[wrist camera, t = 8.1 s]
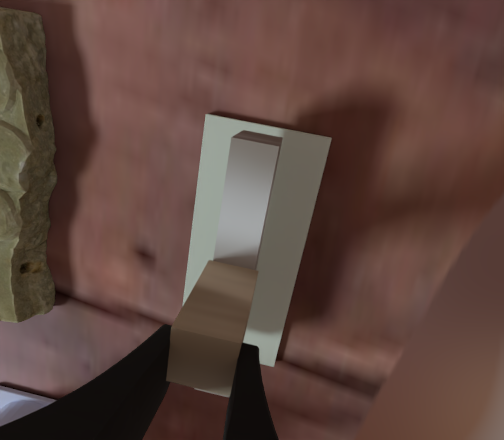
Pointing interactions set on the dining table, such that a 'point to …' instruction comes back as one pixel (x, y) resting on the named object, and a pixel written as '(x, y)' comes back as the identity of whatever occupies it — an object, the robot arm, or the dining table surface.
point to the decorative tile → (24, 168)
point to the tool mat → (277, 223)
